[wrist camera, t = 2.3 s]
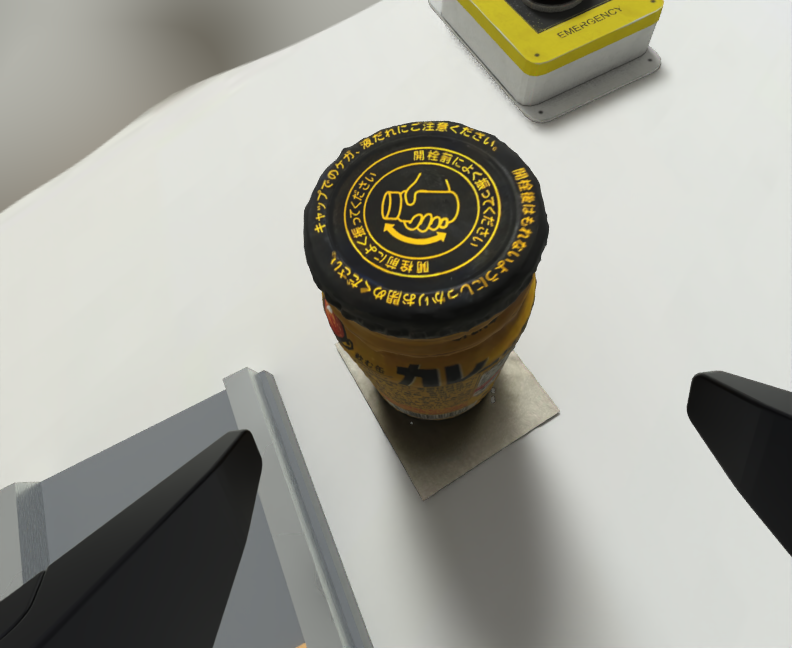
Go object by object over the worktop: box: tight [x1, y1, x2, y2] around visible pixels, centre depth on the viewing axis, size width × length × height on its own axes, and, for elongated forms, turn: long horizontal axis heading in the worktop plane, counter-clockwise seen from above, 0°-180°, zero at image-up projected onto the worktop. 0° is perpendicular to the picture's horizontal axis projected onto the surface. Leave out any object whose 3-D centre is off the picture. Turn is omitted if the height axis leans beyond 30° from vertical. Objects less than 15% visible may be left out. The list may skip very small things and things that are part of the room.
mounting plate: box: [41, 370, 373, 648], centre depth 16 cm, size 13×13×1 cm
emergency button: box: [428, 0, 664, 123], centre depth 25 cm, size 9×4×15 cm
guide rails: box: [0, 367, 356, 648], centre depth 15 cm, size 13×12×1 cm
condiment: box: [303, 121, 560, 501], centre depth 13 cm, size 7×8×12 cm
